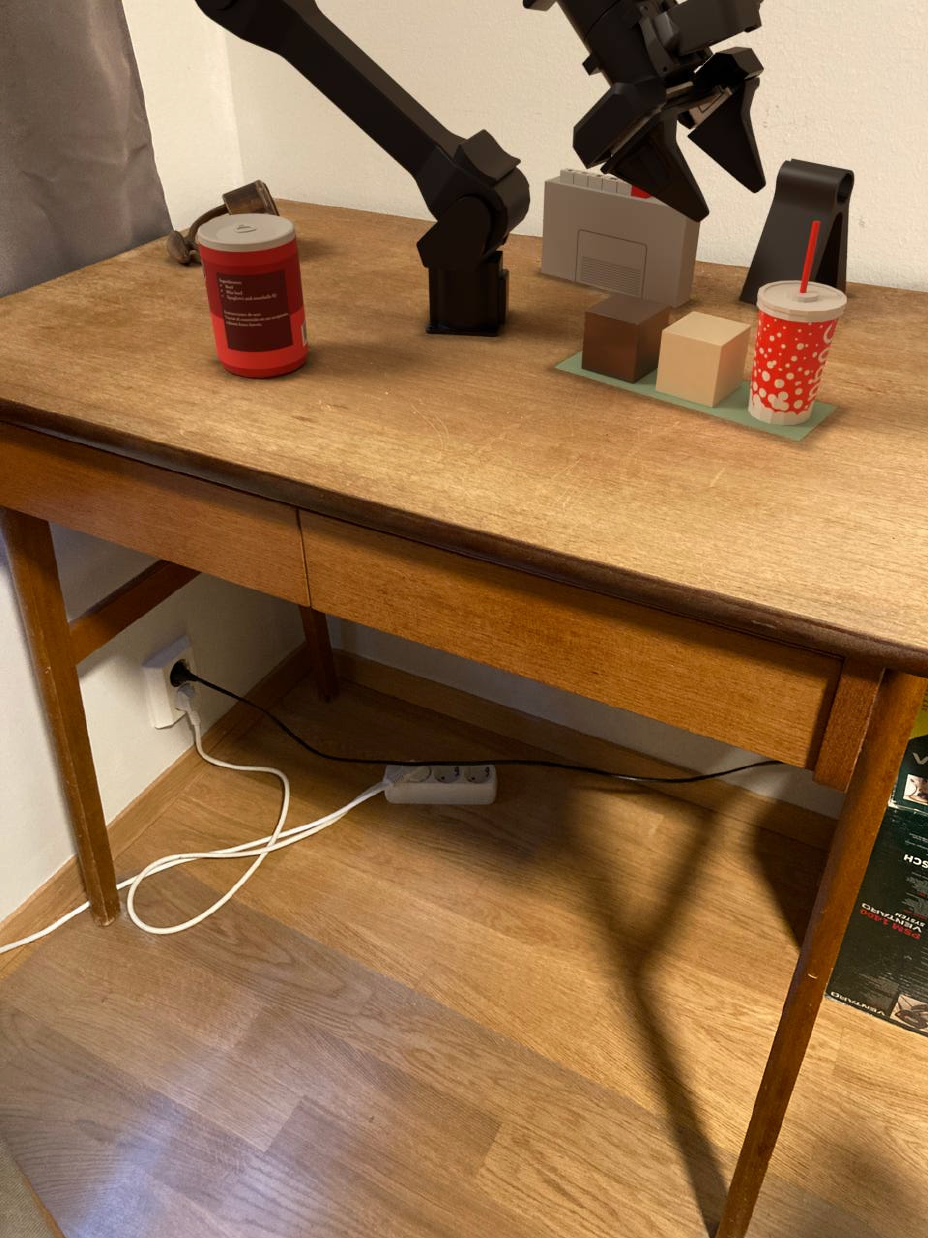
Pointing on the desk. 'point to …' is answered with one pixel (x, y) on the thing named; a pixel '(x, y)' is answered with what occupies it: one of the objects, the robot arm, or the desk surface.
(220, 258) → the canned food
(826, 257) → the phone stand
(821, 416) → the line mat
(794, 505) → the desk surface
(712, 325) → the cream block
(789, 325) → the beverage cup
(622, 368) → the walnut block
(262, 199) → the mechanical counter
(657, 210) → the cassette player
